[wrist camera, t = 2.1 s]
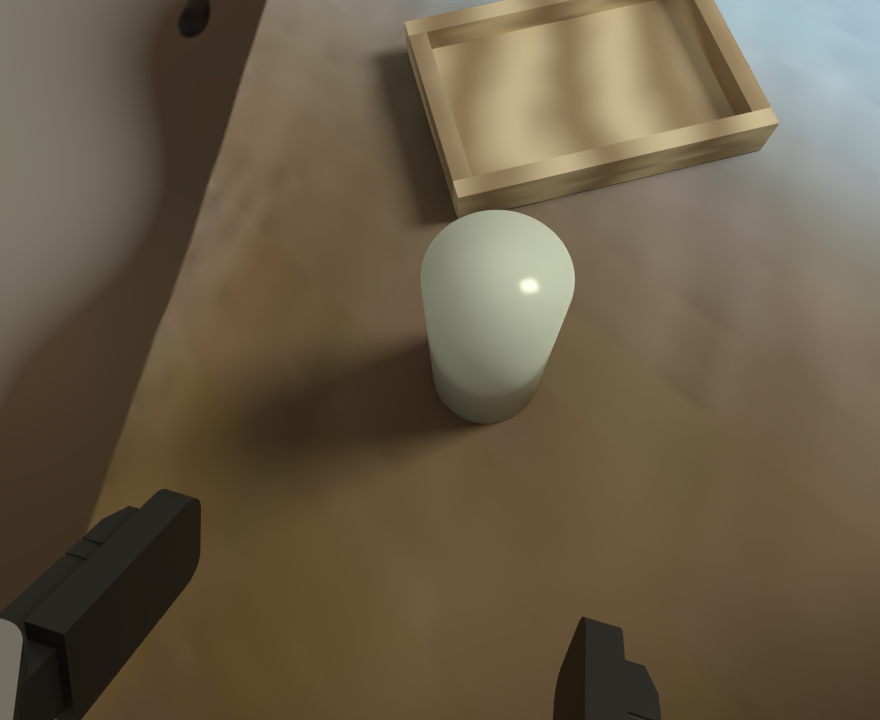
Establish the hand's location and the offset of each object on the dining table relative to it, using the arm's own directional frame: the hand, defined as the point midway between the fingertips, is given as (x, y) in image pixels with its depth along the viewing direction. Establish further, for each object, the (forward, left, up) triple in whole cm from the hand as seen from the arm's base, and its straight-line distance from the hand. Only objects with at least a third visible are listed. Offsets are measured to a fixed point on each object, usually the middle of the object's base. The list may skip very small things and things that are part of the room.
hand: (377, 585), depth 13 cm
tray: (-17, -27, -21) cm, 38 cm away
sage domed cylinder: (-6, -10, -21) cm, 24 cm away
